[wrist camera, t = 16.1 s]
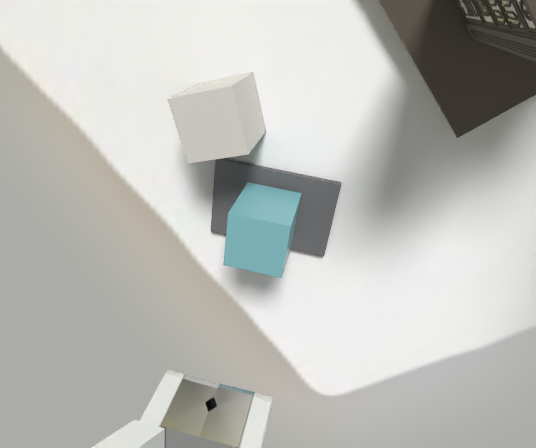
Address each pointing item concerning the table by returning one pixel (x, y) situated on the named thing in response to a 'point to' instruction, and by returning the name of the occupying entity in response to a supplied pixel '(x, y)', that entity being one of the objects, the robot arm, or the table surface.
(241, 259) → the teal block
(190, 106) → the light grey block
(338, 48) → the table surface
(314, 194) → the stand
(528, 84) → the building model
